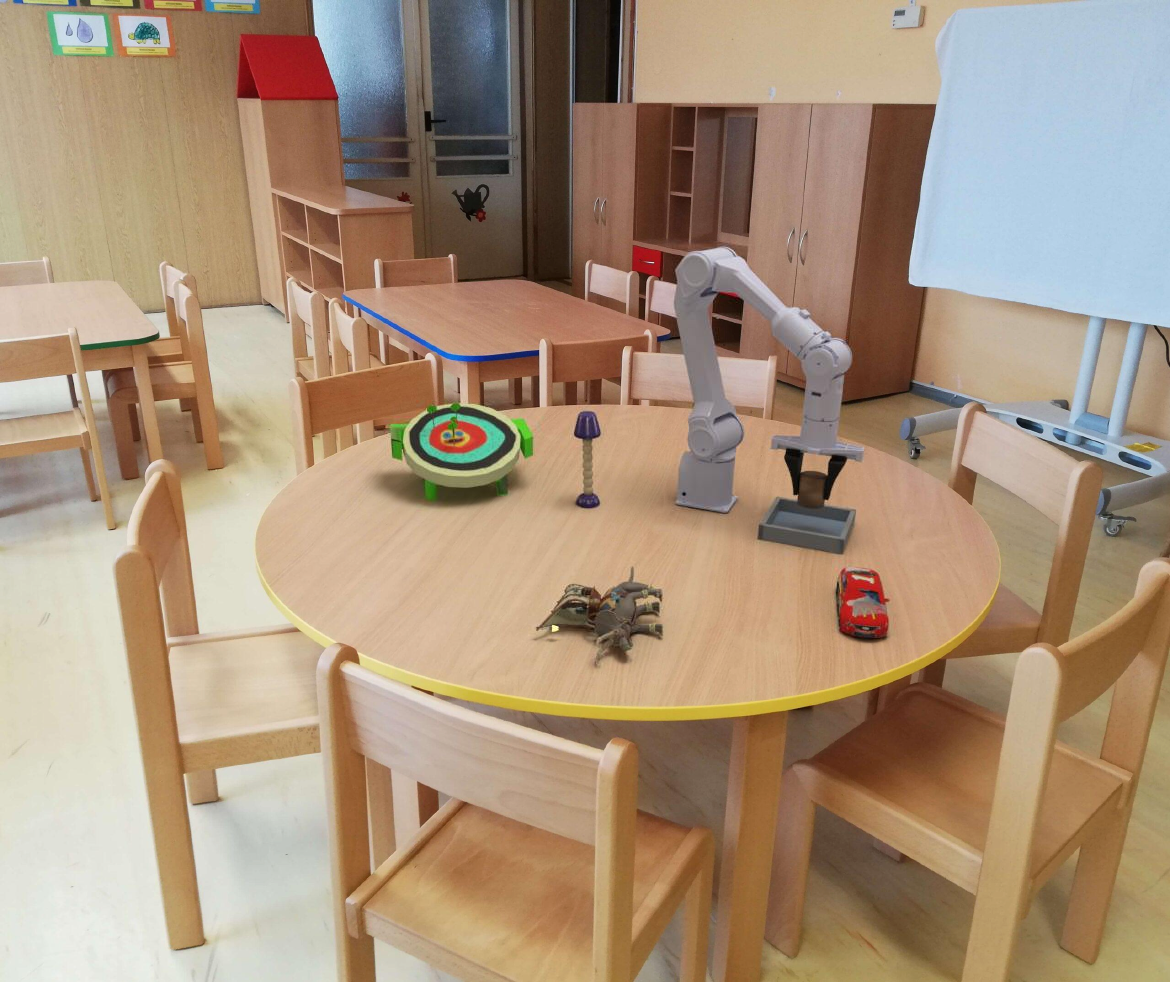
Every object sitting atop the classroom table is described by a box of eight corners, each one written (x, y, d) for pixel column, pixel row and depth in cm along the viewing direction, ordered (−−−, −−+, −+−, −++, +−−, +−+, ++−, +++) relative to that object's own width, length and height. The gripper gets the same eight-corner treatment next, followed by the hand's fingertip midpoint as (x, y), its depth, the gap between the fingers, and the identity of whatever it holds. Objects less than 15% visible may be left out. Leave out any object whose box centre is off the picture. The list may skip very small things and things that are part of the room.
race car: (888, 647, 123) (893, 614, 121) (836, 640, 124) (840, 607, 122) (881, 590, 138) (886, 560, 136) (834, 585, 139) (838, 555, 137)
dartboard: (395, 512, 160) (390, 422, 154) (392, 474, 177) (388, 392, 171) (539, 503, 165) (540, 416, 160) (523, 467, 182) (523, 387, 176)
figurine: (671, 634, 114) (533, 634, 114) (668, 674, 117) (533, 674, 117) (657, 553, 132) (538, 553, 132) (655, 590, 135) (538, 590, 135)
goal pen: (757, 538, 153) (759, 524, 152) (775, 509, 165) (776, 496, 164) (842, 554, 148) (844, 539, 148) (854, 523, 160) (856, 509, 159)
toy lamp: (575, 509, 163) (577, 417, 157) (570, 499, 167) (572, 409, 161) (602, 507, 164) (605, 416, 158) (596, 497, 168) (599, 408, 162)
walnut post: (794, 506, 154) (797, 477, 152) (799, 497, 157) (802, 469, 156) (821, 510, 152) (825, 481, 150) (826, 501, 156) (829, 473, 154)
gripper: (770, 417, 148) (762, 496, 153) (864, 429, 143) (853, 511, 148) (779, 405, 154) (771, 482, 159) (870, 417, 149) (859, 496, 154)
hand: (811, 495), depth 154 cm, fingers closed on walnut post, 4 cm apart
